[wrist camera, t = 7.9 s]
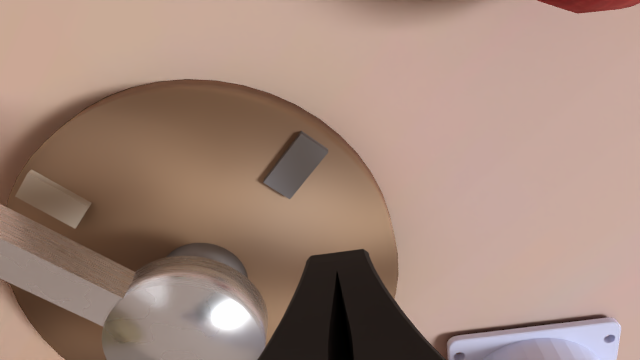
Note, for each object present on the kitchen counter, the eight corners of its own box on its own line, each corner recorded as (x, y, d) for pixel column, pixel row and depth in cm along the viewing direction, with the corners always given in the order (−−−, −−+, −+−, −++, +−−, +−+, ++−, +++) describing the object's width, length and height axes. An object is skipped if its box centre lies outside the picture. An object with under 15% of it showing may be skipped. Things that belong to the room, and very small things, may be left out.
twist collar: (297, 302, 20) (295, 342, 18) (220, 391, 22) (211, 434, 20) (-107, 85, 16) (-160, 108, 14) (-155, 218, 18) (-206, 253, 16)
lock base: (406, 368, 27) (418, 429, 23) (95, 404, 27) (67, 468, 24) (374, 49, 19) (385, 76, 16) (-48, 112, 20) (-114, 150, 17)
